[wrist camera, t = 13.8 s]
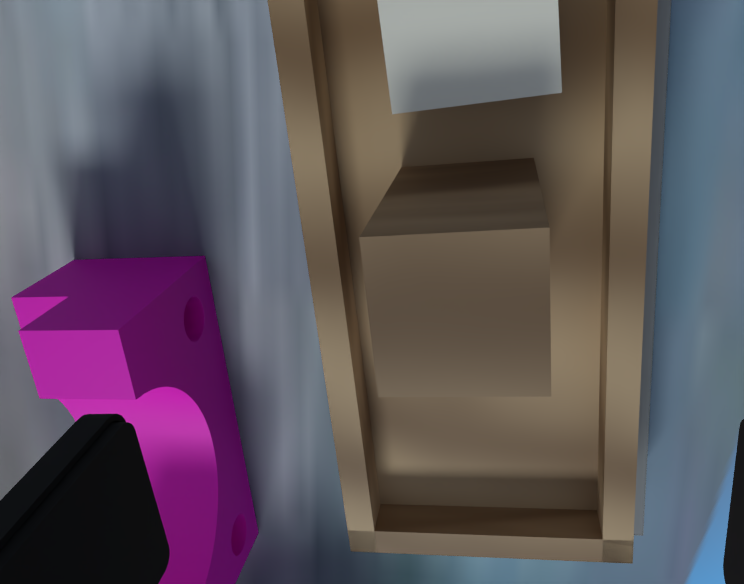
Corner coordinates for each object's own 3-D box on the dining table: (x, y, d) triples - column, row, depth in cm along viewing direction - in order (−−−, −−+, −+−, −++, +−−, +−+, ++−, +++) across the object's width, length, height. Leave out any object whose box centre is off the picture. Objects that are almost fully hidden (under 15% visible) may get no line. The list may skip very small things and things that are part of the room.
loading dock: (276, -159, 23) (246, -182, 20) (660, -225, 20) (685, -261, 18) (363, 481, 32) (350, 525, 30) (630, 487, 30) (643, 535, 27)
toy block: (76, 258, 30) (-46, 331, 24) (206, 254, 29) (117, 329, 22) (148, 524, 36) (66, 644, 29) (259, 529, 35) (201, 657, 28)
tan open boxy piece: (277, -182, 20) (120, -312, 12) (640, -247, 18) (761, -460, 10) (367, 490, 29) (314, 684, 20) (616, 497, 27) (668, 714, 18)
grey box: (393, -55, 19) (368, -69, 15) (542, -82, 18) (554, -104, 14) (411, 94, 20) (392, 114, 17) (550, 76, 19) (561, 92, 16)
